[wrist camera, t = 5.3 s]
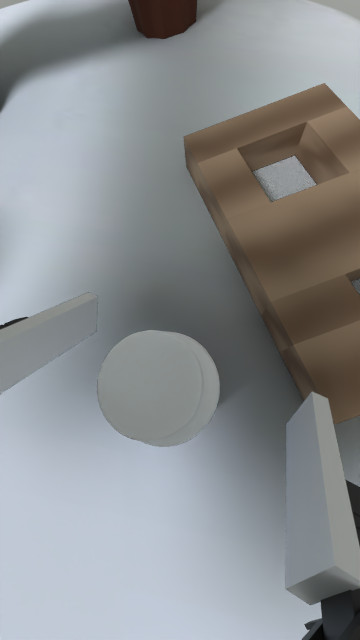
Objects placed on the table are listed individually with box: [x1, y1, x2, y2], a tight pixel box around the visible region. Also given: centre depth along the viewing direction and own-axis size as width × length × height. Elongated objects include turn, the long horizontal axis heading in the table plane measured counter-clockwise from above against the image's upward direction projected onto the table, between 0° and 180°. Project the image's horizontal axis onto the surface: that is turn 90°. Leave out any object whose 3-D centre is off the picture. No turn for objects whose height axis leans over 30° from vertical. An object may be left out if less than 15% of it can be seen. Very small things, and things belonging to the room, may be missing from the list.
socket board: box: [184, 83, 360, 424], centre depth 18 cm, size 26×14×3 cm, turn 19°
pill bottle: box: [97, 330, 220, 447], centre depth 13 cm, size 6×5×10 cm
